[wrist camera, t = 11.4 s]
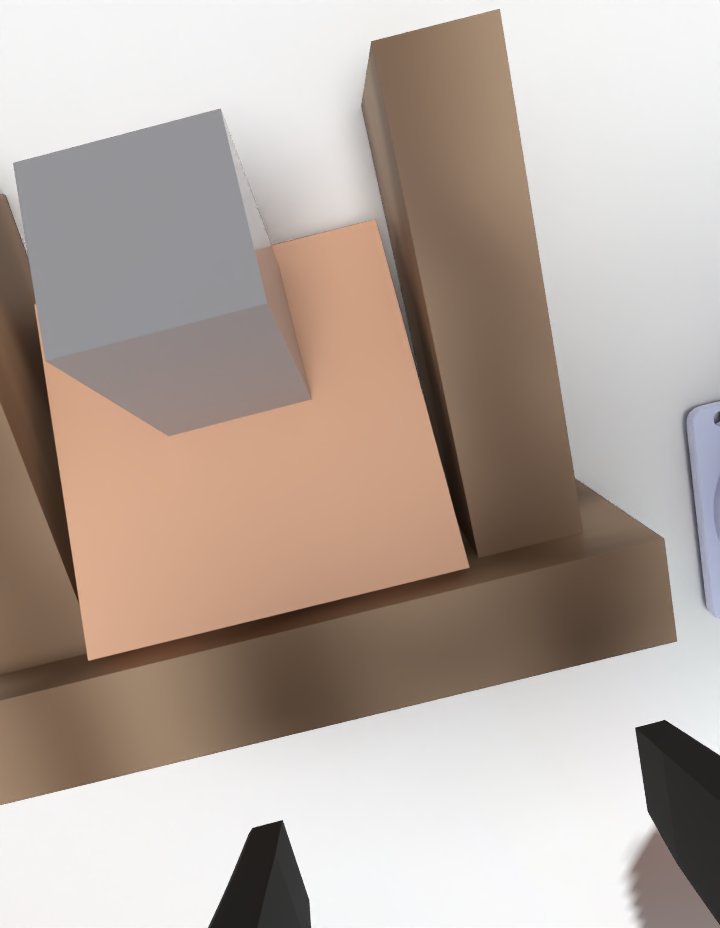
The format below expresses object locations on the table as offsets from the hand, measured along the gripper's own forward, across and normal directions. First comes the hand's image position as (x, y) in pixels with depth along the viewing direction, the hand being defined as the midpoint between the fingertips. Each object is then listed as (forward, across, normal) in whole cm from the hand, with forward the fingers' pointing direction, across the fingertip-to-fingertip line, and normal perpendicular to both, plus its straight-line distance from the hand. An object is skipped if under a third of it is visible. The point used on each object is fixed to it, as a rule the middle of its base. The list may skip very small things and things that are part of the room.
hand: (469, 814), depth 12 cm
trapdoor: (+8, +3, -7) cm, 11 cm away
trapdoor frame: (+10, +3, -8) cm, 14 cm away
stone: (+8, +3, -10) cm, 13 cm away
